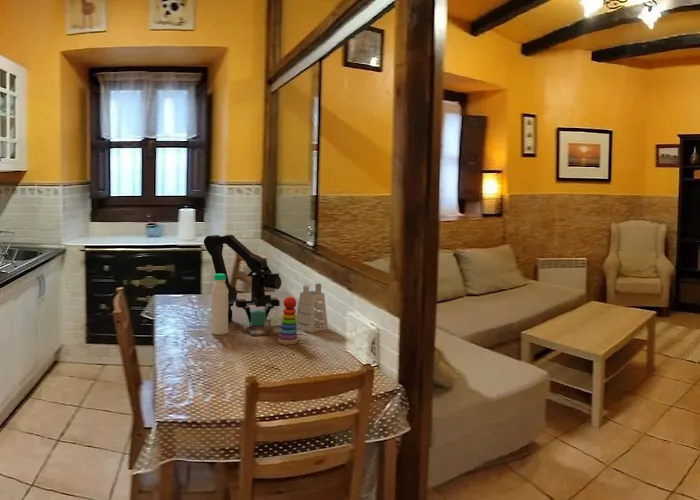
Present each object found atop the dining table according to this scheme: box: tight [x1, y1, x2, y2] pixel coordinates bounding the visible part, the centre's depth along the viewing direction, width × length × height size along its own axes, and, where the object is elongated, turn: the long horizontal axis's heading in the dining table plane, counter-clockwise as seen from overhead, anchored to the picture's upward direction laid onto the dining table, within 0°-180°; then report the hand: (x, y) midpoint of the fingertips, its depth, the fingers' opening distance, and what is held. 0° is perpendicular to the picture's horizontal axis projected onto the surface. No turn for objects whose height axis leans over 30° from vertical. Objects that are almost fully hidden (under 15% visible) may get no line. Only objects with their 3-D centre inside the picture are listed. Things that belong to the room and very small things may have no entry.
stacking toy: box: [277, 296, 299, 346], centre depth 248 cm, size 8×8×19 cm
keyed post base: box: [245, 319, 281, 337], centre depth 265 cm, size 16×12×5 cm
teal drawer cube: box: [248, 308, 266, 327], centre depth 276 cm, size 6×6×6 cm
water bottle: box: [210, 273, 229, 336], centre depth 259 cm, size 7×7×25 cm
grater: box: [295, 282, 329, 333], centre depth 273 cm, size 10×10×20 cm
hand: (257, 321), depth 276 cm, fingers closed on teal drawer cube, 6 cm apart
